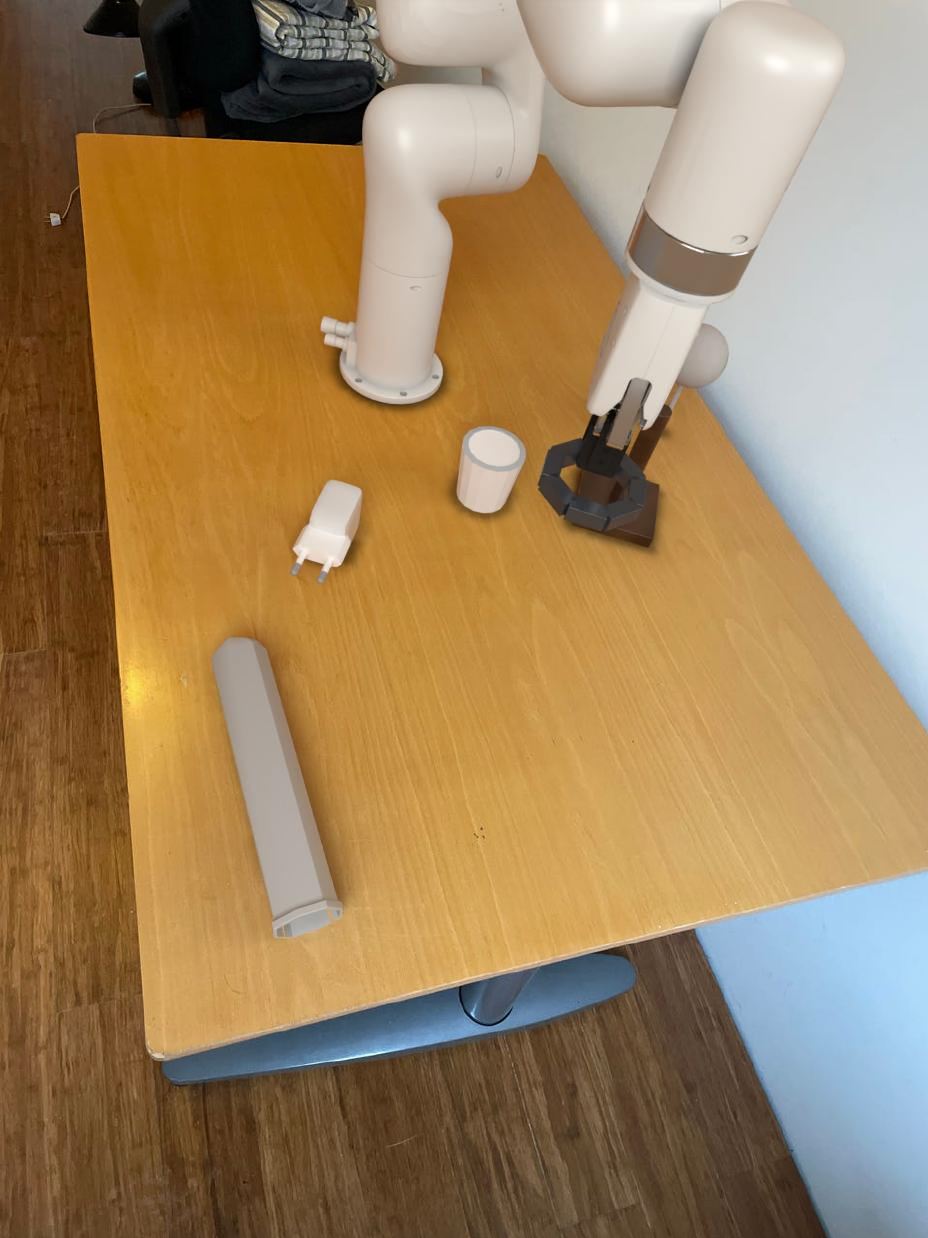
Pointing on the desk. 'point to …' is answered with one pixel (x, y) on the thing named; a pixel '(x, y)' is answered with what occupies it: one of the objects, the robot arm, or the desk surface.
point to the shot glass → (488, 468)
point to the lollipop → (702, 361)
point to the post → (612, 491)
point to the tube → (274, 791)
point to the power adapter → (329, 527)
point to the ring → (585, 509)
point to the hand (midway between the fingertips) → (597, 459)
